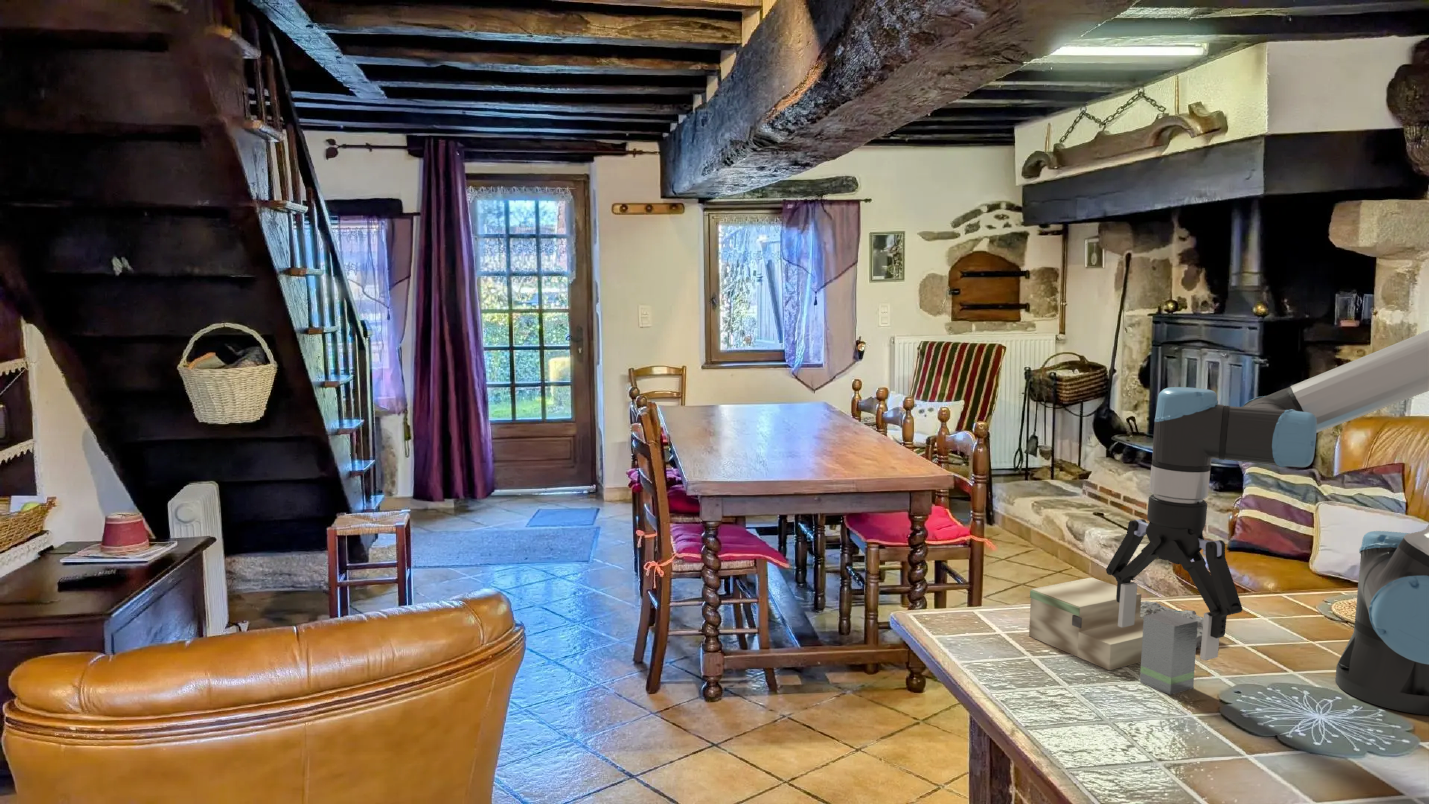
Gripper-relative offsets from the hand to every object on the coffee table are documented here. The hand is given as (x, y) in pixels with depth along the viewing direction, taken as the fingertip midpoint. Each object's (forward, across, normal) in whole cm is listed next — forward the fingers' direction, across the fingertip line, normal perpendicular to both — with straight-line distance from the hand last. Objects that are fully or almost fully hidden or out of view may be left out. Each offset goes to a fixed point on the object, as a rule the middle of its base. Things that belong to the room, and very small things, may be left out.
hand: (1165, 641), depth 138 cm
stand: (+7, +16, -4) cm, 17 cm away
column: (+7, 0, 0) cm, 7 cm away
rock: (+7, +13, -18) cm, 24 cm away
